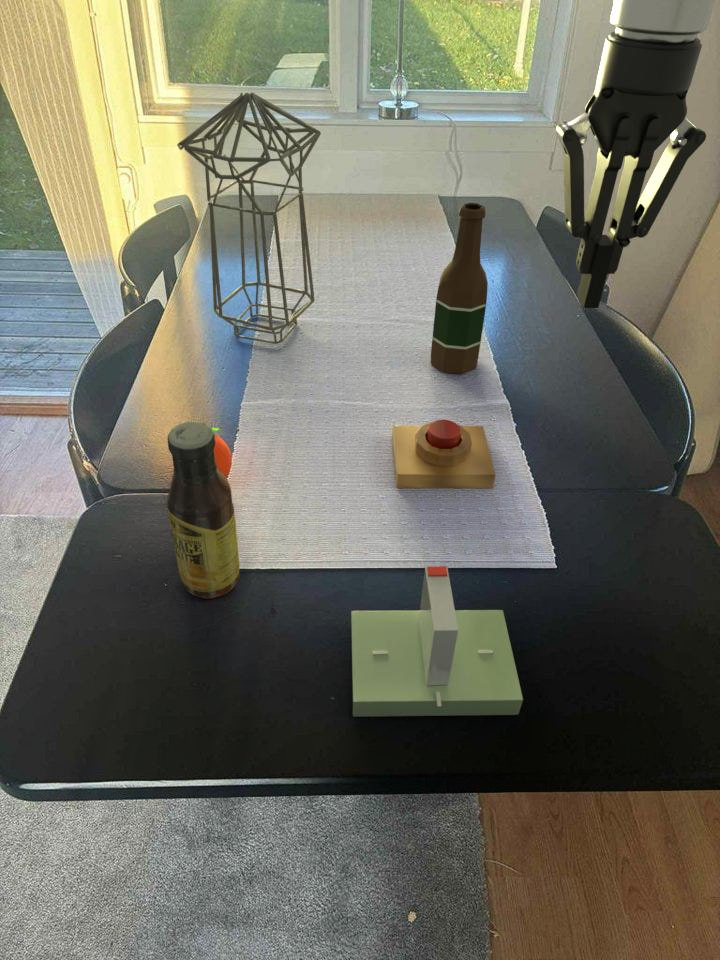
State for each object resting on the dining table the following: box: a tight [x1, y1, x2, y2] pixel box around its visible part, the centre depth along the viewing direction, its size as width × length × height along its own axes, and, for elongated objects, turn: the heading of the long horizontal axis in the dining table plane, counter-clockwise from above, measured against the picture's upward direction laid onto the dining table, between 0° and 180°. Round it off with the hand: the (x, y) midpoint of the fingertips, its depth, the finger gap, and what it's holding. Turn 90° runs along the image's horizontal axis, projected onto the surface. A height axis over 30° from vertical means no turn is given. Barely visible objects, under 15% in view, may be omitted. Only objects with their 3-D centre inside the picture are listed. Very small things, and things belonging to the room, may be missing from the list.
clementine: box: [172, 427, 233, 478], centre depth 84 cm, size 8×7×7 cm
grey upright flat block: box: [418, 565, 458, 685], centre depth 62 cm, size 7×2×8 cm, turn 2°
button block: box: [391, 421, 496, 489], centre depth 89 cm, size 12×10×4 cm
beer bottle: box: [430, 202, 489, 375], centre depth 101 cm, size 8×8×24 cm
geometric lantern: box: [176, 91, 322, 345], centre depth 103 cm, size 16×16×35 cm
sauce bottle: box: [165, 420, 241, 600], centre depth 68 cm, size 7×6×20 cm
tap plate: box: [350, 609, 524, 718], centre depth 66 cm, size 15×11×3 cm
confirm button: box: [427, 419, 461, 449], centre depth 87 cm, size 4×4×2 cm
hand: (587, 301), depth 72 cm, fingers closed
